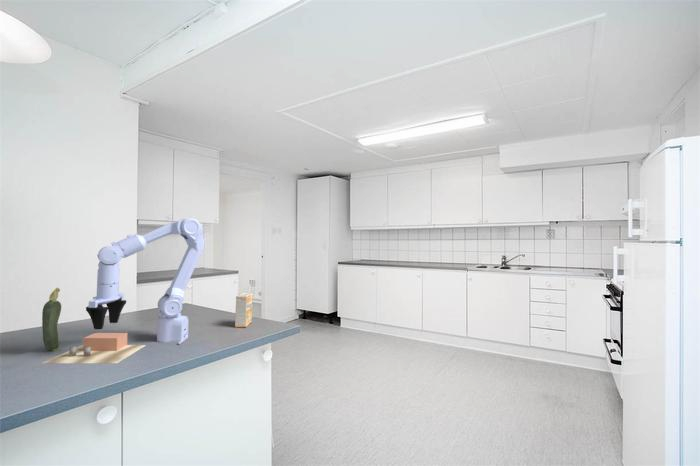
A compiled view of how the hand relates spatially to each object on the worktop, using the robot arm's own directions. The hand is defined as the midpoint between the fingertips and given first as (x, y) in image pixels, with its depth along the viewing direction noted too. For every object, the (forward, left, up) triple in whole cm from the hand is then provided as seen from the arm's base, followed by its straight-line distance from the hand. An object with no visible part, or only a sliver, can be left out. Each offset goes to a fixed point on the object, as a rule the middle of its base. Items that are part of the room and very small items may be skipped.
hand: (106, 325), depth 107 cm
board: (-1, +5, -8) cm, 9 cm away
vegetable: (+15, +2, -8) cm, 17 cm away
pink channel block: (0, 0, -7) cm, 7 cm away
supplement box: (-36, -32, -8) cm, 49 cm away
